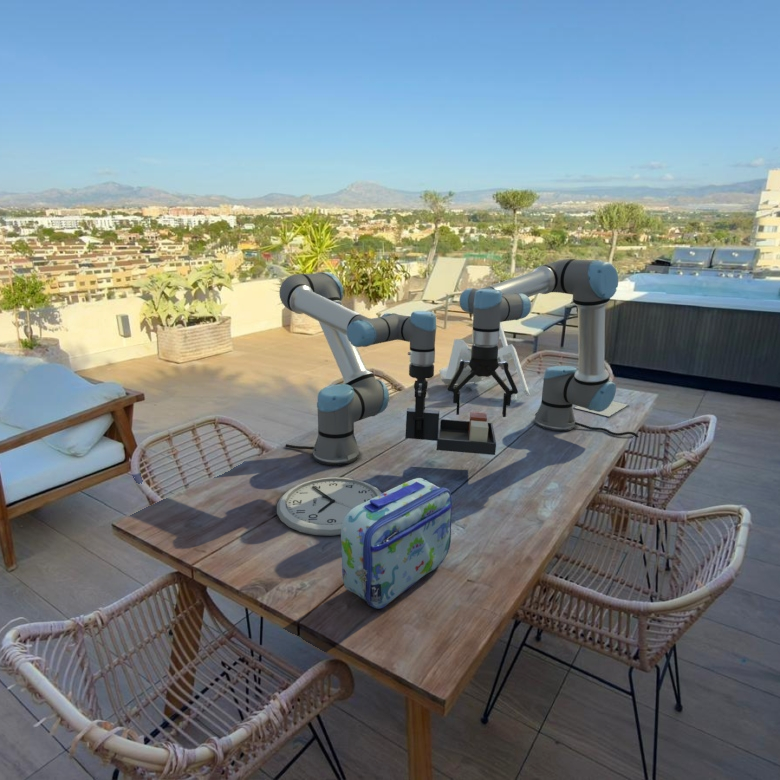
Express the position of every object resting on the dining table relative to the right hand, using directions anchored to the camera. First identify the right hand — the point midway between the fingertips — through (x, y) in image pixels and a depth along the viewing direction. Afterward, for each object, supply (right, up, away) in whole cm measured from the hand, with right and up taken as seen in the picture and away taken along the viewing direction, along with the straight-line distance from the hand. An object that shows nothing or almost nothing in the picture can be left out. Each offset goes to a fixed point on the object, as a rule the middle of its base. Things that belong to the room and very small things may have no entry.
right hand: (480, 414), depth 156 cm
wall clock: (-43, -24, -13) cm, 51 cm away
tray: (-9, -8, +8) cm, 14 cm away
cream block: (0, -10, +3) cm, 10 cm away
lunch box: (-25, -34, -42) cm, 60 cm away
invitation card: (+65, 0, +71) cm, 96 cm away
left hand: (-18, -7, +8) cm, 21 cm away
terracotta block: (+1, -7, +10) cm, 13 cm away
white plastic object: (+15, +6, +88) cm, 89 cm away
